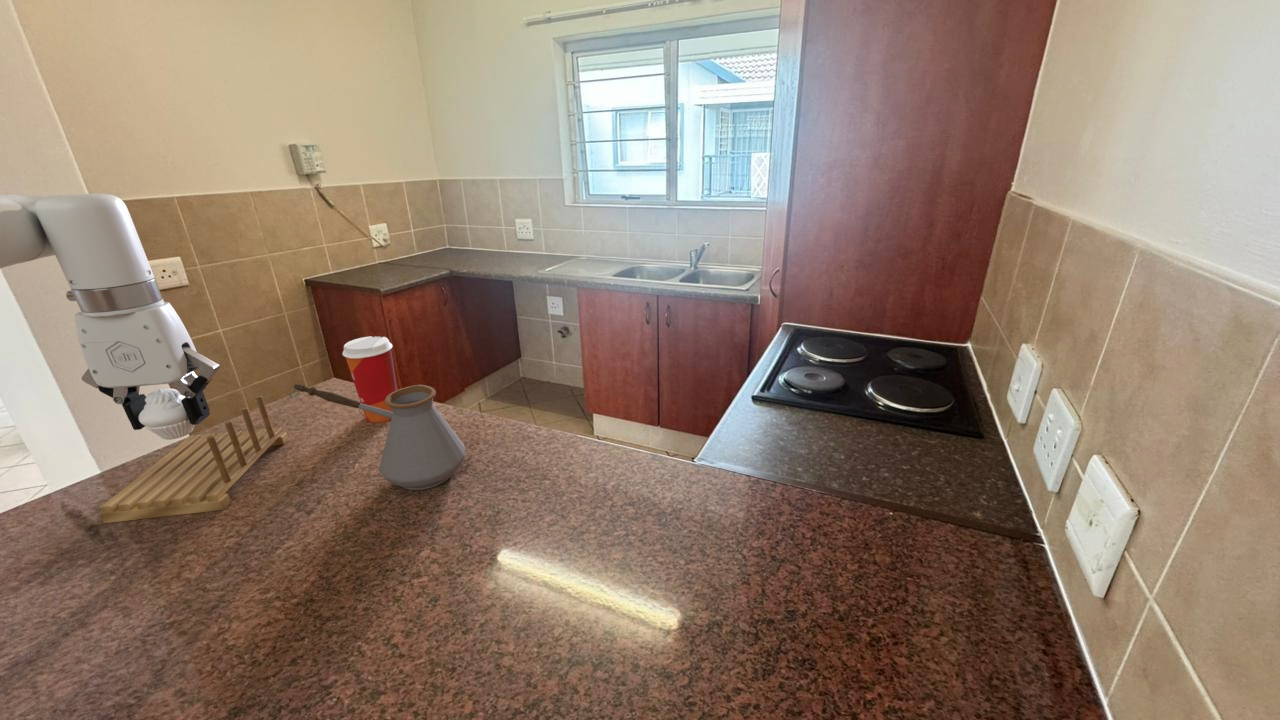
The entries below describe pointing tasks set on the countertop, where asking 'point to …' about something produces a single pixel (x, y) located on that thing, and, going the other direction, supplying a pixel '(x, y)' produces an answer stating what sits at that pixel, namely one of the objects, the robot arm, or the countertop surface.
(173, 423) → the muffin
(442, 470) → the coffee pot
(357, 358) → the paper cup
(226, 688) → the countertop surface
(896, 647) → the countertop surface
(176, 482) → the rack
